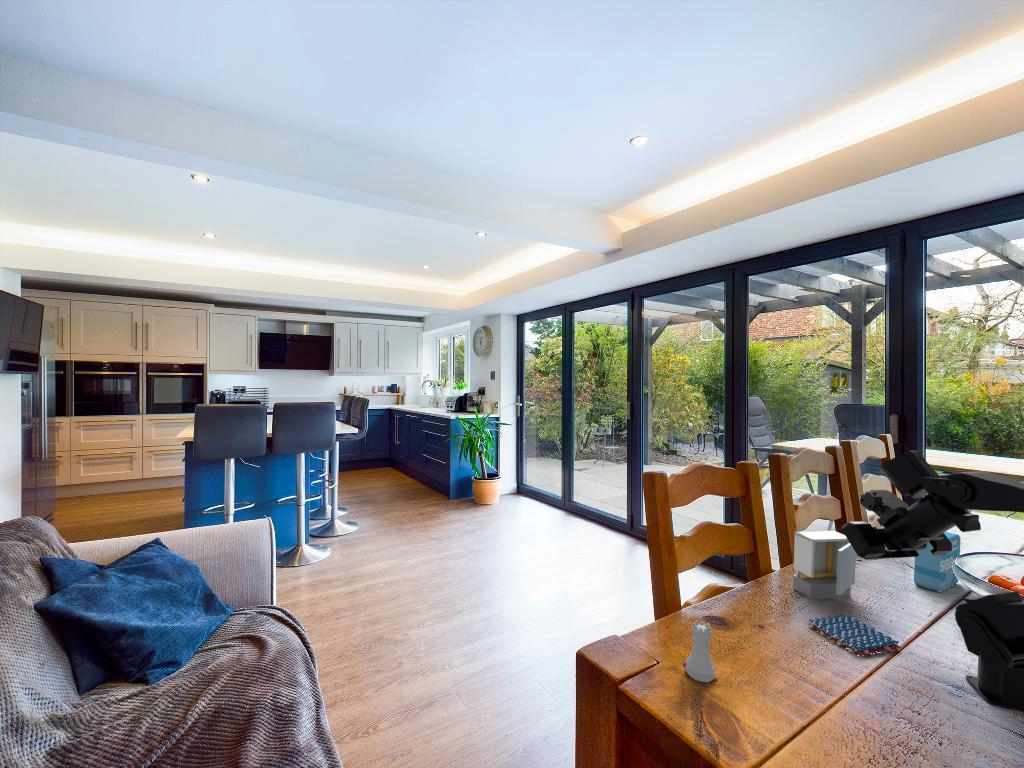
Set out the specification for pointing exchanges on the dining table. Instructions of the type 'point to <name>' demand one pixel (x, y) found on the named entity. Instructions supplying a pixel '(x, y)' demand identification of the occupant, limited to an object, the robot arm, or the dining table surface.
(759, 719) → the dining table surface
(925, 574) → the blue carton
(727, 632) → the dining table surface
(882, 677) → the dining table surface
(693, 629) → the rook chess piece
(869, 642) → the woven mat
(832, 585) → the box
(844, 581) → the box door
